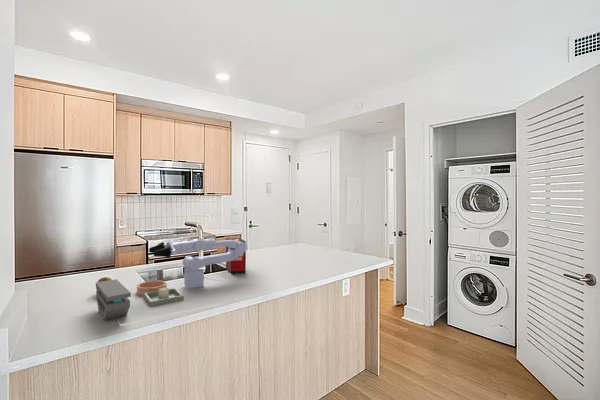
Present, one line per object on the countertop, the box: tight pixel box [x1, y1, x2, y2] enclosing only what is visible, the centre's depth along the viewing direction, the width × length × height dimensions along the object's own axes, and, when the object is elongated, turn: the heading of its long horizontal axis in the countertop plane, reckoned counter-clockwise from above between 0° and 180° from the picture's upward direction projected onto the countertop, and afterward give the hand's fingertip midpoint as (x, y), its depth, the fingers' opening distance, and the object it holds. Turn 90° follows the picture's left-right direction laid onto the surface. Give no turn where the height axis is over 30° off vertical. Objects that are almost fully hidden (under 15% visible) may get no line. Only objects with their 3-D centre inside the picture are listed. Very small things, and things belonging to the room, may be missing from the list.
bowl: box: [136, 279, 168, 297], centre depth 154 cm, size 13×13×4 cm
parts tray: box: [143, 287, 185, 307], centre depth 143 cm, size 14×14×3 cm
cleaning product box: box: [225, 237, 247, 275], centre depth 198 cm, size 16×9×20 cm, turn 25°
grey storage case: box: [95, 279, 132, 321], centre depth 126 cm, size 25×8×11 cm, turn 42°
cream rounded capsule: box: [158, 287, 170, 299], centre depth 143 cm, size 4×4×4 cm
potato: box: [95, 276, 112, 291], centre depth 149 cm, size 8×13×8 cm, turn 26°
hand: (151, 252), depth 151 cm, fingers open, 7 cm apart
